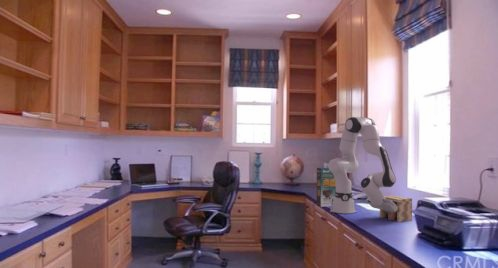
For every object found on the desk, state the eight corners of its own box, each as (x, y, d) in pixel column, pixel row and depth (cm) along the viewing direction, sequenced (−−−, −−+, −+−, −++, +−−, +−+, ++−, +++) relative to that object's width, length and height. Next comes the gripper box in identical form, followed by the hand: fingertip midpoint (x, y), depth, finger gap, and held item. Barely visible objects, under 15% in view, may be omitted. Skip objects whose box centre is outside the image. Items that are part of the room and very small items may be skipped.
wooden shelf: (398, 221, 241) (399, 199, 242) (379, 217, 256) (379, 196, 256) (411, 220, 247) (412, 198, 247) (392, 215, 261) (392, 195, 261)
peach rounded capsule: (387, 218, 253) (387, 204, 253) (395, 218, 251) (395, 205, 252) (388, 219, 248) (388, 205, 248) (396, 220, 247) (396, 206, 247)
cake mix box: (339, 204, 309) (340, 167, 310) (344, 205, 303) (344, 167, 304) (316, 205, 301) (316, 167, 302) (320, 206, 295) (321, 168, 296)
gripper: (393, 197, 236) (404, 211, 240) (369, 193, 254) (379, 206, 258) (388, 204, 234) (399, 219, 238) (364, 200, 252) (374, 213, 256)
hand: (388, 212), depth 248 cm, fingers closed, pressing on peach rounded capsule
